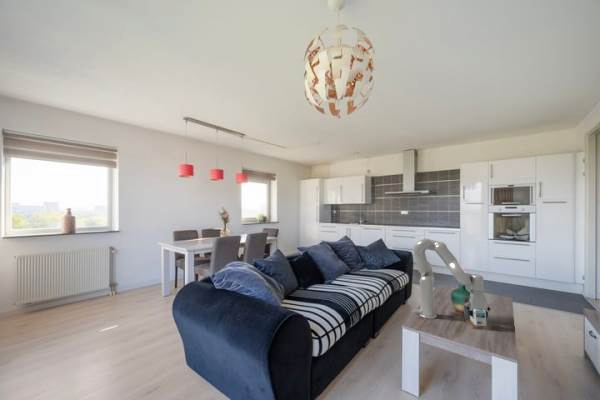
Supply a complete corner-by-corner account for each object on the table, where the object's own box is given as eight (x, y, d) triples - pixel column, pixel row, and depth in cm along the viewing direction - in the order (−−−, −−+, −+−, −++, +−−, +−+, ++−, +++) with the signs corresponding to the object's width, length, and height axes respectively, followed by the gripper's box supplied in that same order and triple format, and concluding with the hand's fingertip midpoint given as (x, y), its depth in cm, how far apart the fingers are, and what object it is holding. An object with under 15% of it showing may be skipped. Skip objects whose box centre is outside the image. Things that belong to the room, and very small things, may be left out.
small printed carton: (472, 328, 177) (471, 302, 178) (464, 320, 191) (463, 296, 192) (492, 330, 174) (491, 303, 175) (482, 321, 188) (481, 297, 189)
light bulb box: (487, 326, 175) (486, 311, 176) (476, 325, 177) (475, 310, 177) (479, 320, 186) (479, 305, 186) (469, 319, 187) (468, 304, 188)
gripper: (466, 293, 181) (467, 317, 180) (493, 294, 177) (494, 319, 176) (462, 289, 188) (462, 313, 187) (488, 291, 184) (489, 315, 183)
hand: (478, 316), depth 181 cm, fingers open, 9 cm apart
